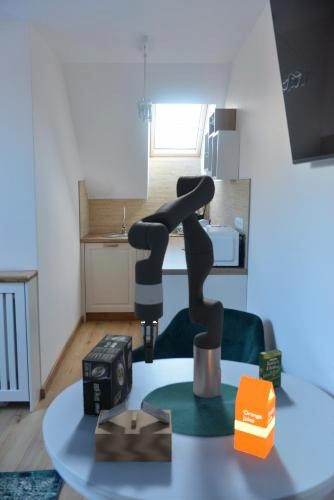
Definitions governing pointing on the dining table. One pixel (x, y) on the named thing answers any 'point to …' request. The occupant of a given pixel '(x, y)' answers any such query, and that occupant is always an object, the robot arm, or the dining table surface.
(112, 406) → the box
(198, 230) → the robot arm
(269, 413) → the orange juice
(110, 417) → the clasp
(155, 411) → the clasp
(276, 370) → the coffee box
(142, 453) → the wooden latch case
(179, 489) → the dining table surface
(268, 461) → the dining table surface
